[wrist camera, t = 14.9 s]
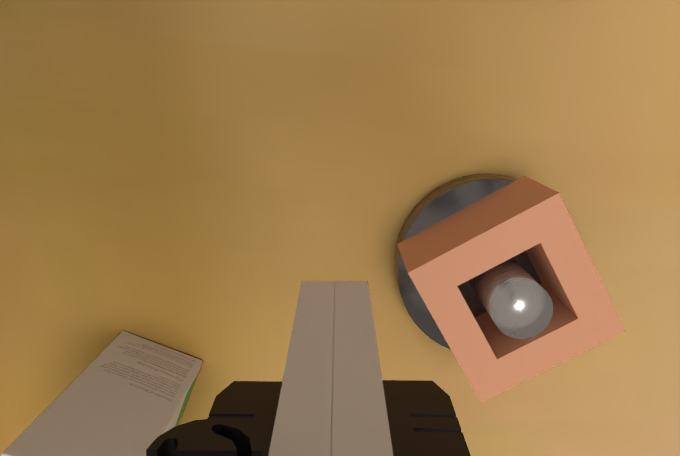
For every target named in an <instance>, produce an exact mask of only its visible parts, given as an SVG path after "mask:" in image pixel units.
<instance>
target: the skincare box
mask: <svg viewBox="0 0 680 456" xmlns="http://www.w3.org/2000/svg"><path fill="white" fill-rule="evenodd" d="M201 365H202V360H200V359H197V358H195V357H192V356H189V355H187V354H184V353H181V352H179V351H176V350H173V349H171V348H168V347H165V346H163V345H160V344H157V343H155V342H152V341H149V340H147V339H144V338H141V337H139V336H136V335H134V334H131V333H128V332H126V331H122V332H121V333H120V334H119V335H118V336H117V337H116V338H115V339H114V340H113V342H112V343H111V344H110V345H109V346H108V347H107V348H106V349H105V350H104V351H103V352H102V353H101V354H100V355H99V356H98V357H97V358H96V359H95V360H94V361H93V362H92V363H91V364H90V365H89V366H88V367H87V368H86V369H85V370H84V371H83V372H82V373H81V374H80V375H79V376H78V377H77V378H76V379H75V380H74V381H73V382H72V383H71V384H70V385H69V386H68V387H67V388H66V389H65V390H64V391H63V392H62V393H61V394H60V395H59V396H58V397H57V398H56V399H55V400H54V401H53V402H52V403H51V404H50V405H49V406H48V407H47V408H46V409H45V410H44V411H43V412H42V413H41V414H40V415H39V416H38V417H37V418H36V419H35V420H34V422H33V423H32V424H31V425H30V426H29V427H28V428H27V429H26V430H25V431H24V432H23V433H22V434H21V435H20V436H19V437H18V438H17V439H16V440H15V441H14V442H13V443H12V444H11V445H10V446H9V447H8V448H7V449H6V450H5V451H4V452H3V453H2V454H1V456H146V449H147V448H148V447H149V446H150V445H151V444H152V442H153V441H154V440H155V439H156V438H157V437H158V436H160V435H162V434H163V433H165V432H167V431H168V430H170V429H172V428H173V427H176V426H178V424H179V422H180V419H181V416H182V414H183V411H184V408H185V406H186V403H187V401H188V398H189V395H190V393H191V390H192V387H193V385H194V382H195V380H196V377H197V375H198V372H199V370H200V367H201Z"/></svg>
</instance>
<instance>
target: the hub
mask: <svg viewBox="0 0 680 456" xmlns="http://www.w3.org/2000/svg"><path fill="white" fill-rule="evenodd" d="M515 180H517V179H514V178H511V177H507V176H503V175H496V174H476V175H470V176H465V177H461V178H458V179H455V180H452V181H450V182H448V183H446V184H444V185H442V186H440V187H438V188H437V189H435V190H434V191H432V192H431V193H430V194H428V195H427V196H426V197H425V198H423V199H422V200H421V201H420V203H419V204H418V205H417V206H416V207H415V208H414V209H413V211H412V212H411V213H410V215H409V216H408V218H407V220H406V221H405V223H404V225H403V227H402V229H401V232H400V235H399V237H398V241H397V244H398V243H400V242H402V241H404V240H406V239H408V238H409V237H411V236H413V235H415V234H417V233H419V232H421V231H422V230H424V229H426V228H428V227H430V226H432V225H434V224H435V223H437V222H439V221H441V220H443V219H445V218H447V217H449V216H450V215H452V214H454V213H456V212H458V211H460V210H462V209H463V208H465V207H467V206H469V205H471V204H473V203H475V202H476V201H478V200H480V199H482V198H484V197H486V196H488V195H489V194H491V193H493V192H495V191H497V190H499V189H501V188H502V187H504V186H506V185H508V184H510V183H512V182H514V181H515ZM395 273H396V278H397V283H398V286H399V289H400V293H401V296H402V299H403V302H404V305H405V307H406V309H407V311H408V313H409V315H410V316H411V318H412V319H413V321H414V322H415V323H416V324H417V326H418V327H419V328H420V329H421V330H422V331H423V332H424V333H425V334H426V335H427V336H429V337H430V338H431V339H433V340H434V341H436V342H437V343H439V344H440V345H442V346H444V347H447V348H449V349H450V347H449V345H448V343H447V342H446V340H445V338H444V336H443V335H442V333H441V331H440V329H439V327H438V326H437V324H436V322H435V320H434V319H433V317H432V315H431V313H430V311H429V310H428V308H427V306H426V304H425V303H424V301H423V299H422V297H421V295H420V294H419V292H418V290H417V288H416V287H415V285H414V283H413V281H412V279H411V278H410V276H409V274H408V272H407V269H406V267H405V264H404V261H403V258H402V256H401V253H400V250H399V247H398V245H396V251H395ZM540 284H542V282H541V280H540V278H539V276H538V274H537V272H536V270H535V268H534V266H533V264H532V263H531V261H530V259H529V257H528V255H527V253H526V251H524V252H522V253H520V254H518V255H516V256H514V257H512V258H510V259H509V260H507V261H505V262H503V263H501V264H499V265H497V266H495V267H493V268H491V269H489V270H487V271H485V272H484V273H482V274H480V275H478V276H476V277H474V278H472V279H470V280H468V281H466V282H464V283H462V284H461V285H459V286H457V287H458V288H459V290H460V292H461V294H462V296H463V298H464V299H465V301H466V303H467V305H468V307H469V309H470V311H471V312H472V314H473V316H474V318H475V317H477V316H479V315H481V314H483V313H485V312H488V313H489V315H490V316H491V318H492V319H493V321H494V323H495V324H496V326H497V327H498V328H499V330H500V331H501V332H502V333H504V334H505V335H507V336H509V337H512V338H516V339H526V338H531V337H533V336H536V335H537V334H539V333H541V332H542V331H543V330H544V329H545V328H546V327H547V326H548V324H549V323H550V320H551V318H552V315H553V303H552V300H551V297H550V296H549V294H548V293H547V292H546V291H545V290H544V289H543V288H542V287H541V286H540Z"/></svg>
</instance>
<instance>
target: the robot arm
mask: <svg viewBox="0 0 680 456" xmlns="http://www.w3.org/2000/svg"><path fill="white" fill-rule="evenodd" d="M146 456H470V453H469V450H468V447H467V444H466V442H465V439H464V436H463V433H461V427H460V425H459V422H458V419H457V417H456V413H455V411H454V408H453V405H452V402H451V399H450V396H449V395H448V394H447V393H445V392H444V391H443V390H442V389H441V388H440V387H439V386H438V385H436V384H435V383H434V382H433V381H395V380H382V375H381V368H380V361H379V354H378V347H377V341H376V334H375V327H374V320H373V313H372V306H371V299H370V293H369V286H368V281H302V283H301V288H300V293H299V298H298V304H297V309H296V314H295V319H294V324H293V330H292V335H291V340H290V345H289V350H288V356H287V361H286V366H285V371H284V376H283V382H259V381H234V382H232V383H231V384H230V385H229V386H228V387H227V388H225V389H224V390H223V391H222V392H221V393H219V394H218V395H217V396H216V398H215V401H214V403H213V406H212V408H211V411H210V413H209V418H207V419H205V420H195V421H191V422H188V423H185V424H182V425H179V426H176V427H173V428H172V429H170V430H168V431H167V432H165V433H163V434H162V435H160V436H158V437H157V438H156V439H155V440H154V441H153V442H152V444H151V445H150V446H149V447H148V448H147V449H146Z"/></svg>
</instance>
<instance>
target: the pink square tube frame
mask: <svg viewBox="0 0 680 456" xmlns="http://www.w3.org/2000/svg"><path fill="white" fill-rule="evenodd" d="M397 245H398V247H399V250H400V253H401V256H402V258H403V261H404V264H405V267H406V269H407V272H408V274H409V276H410V278H411V279H412V281H413V283H414V285H415V287H416V288H417V290H418V292H419V294H420V295H421V297H422V299H423V301H424V303H425V304H426V306H427V308H428V310H429V311H430V313H431V315H432V317H433V319H434V320H435V322H436V324H437V326H438V327H439V329H440V331H441V333H442V335H443V336H444V338H445V340H446V342H447V343H448V345H449V347H450V349H451V351H452V352H453V354H454V356H455V358H456V359H457V361H458V363H459V365H460V367H461V368H462V370H463V372H464V374H465V375H466V377H467V379H468V381H469V383H470V384H471V386H472V388H473V390H474V391H475V393H476V395H477V397H478V399H479V400H480V402H481V403H482V402H484V401H486V400H488V399H490V398H492V397H494V396H496V395H498V394H500V393H502V392H504V391H506V390H508V389H510V388H512V387H514V386H516V385H518V384H520V383H522V382H524V381H526V380H528V379H530V378H532V377H534V376H536V375H538V374H541V373H543V372H545V371H547V370H549V369H551V368H553V367H555V366H557V365H559V364H561V363H563V362H565V361H567V360H569V359H571V358H573V357H575V356H577V355H579V354H581V353H583V352H585V351H587V350H589V349H591V348H593V347H595V346H597V345H599V344H601V343H603V342H605V341H607V340H609V339H612V338H614V337H616V336H618V335H620V334H622V333H624V332H626V331H625V328H624V326H623V324H622V322H621V320H620V318H619V316H618V314H617V312H616V310H615V308H614V306H613V304H612V301H611V299H610V297H609V295H608V293H607V291H606V289H605V287H604V285H603V283H602V281H601V279H600V277H599V275H598V272H597V270H596V268H595V266H594V264H593V262H592V260H591V258H590V256H589V254H588V252H587V250H586V248H585V245H584V243H583V241H582V239H581V237H580V235H579V233H578V231H577V229H576V227H575V225H574V223H573V221H572V219H571V216H570V214H569V212H568V210H567V208H566V206H565V204H564V202H563V200H562V198H561V196H560V194H559V193H558V192H556V191H554V190H552V189H550V188H548V187H546V186H544V185H542V184H540V183H538V182H536V181H534V180H532V179H530V178H528V177H526V176H523V177H521V178H519V179H517V180H515V181H514V182H512V183H510V184H508V185H506V186H504V187H502V188H501V189H499V190H497V191H495V192H493V193H491V194H489V195H488V196H486V197H484V198H482V199H480V200H478V201H476V202H475V203H473V204H471V205H469V206H467V207H465V208H463V209H462V210H460V211H458V212H456V213H454V214H452V215H450V216H449V217H447V218H445V219H443V220H441V221H439V222H437V223H435V224H434V225H432V226H430V227H428V228H426V229H424V230H422V231H421V232H419V233H417V234H415V235H413V236H411V237H409V238H408V239H406V240H404V241H402V242H400V243H398V244H397ZM524 251H526V253H527V255H528V257H529V259H530V261H531V263H532V264H533V266H534V268H535V270H536V272H537V274H538V276H539V278H540V280H541V282H542V284H540V286H541V287H542V288H543V289H544V290H545V291H546V292H547V293H548V294H549V296H550V297H551V300H552V303H553V315H552V318H551V320H550V323H549V324H548V326H547V327H546V328H545V329H544V330H543V331H542V332H541V333H539V334H537V335H536V336H533V337H531V338H526V339H516V338H512V337H509V336H507V335H505V334H504V333H502V332H501V331H500V330H499V328H498V327H497V326H496V324H495V323H494V321H493V319H492V318H491V316H490V315H489V313H488V312H485V313H483V314H481V315H479V316H477V317H475V318H474V316H473V314H472V312H471V311H470V309H469V307H468V305H467V303H466V301H465V299H464V298H463V296H462V294H461V292H460V290H459V288H458V287H457V286H459V285H461V284H462V283H464V282H466V281H468V280H470V279H472V278H474V277H476V276H478V275H480V274H482V273H484V272H485V271H487V270H489V269H491V268H493V267H495V266H497V265H499V264H501V263H503V262H505V261H507V260H509V259H510V258H512V257H514V256H516V255H518V254H520V253H522V252H524Z"/></svg>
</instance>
